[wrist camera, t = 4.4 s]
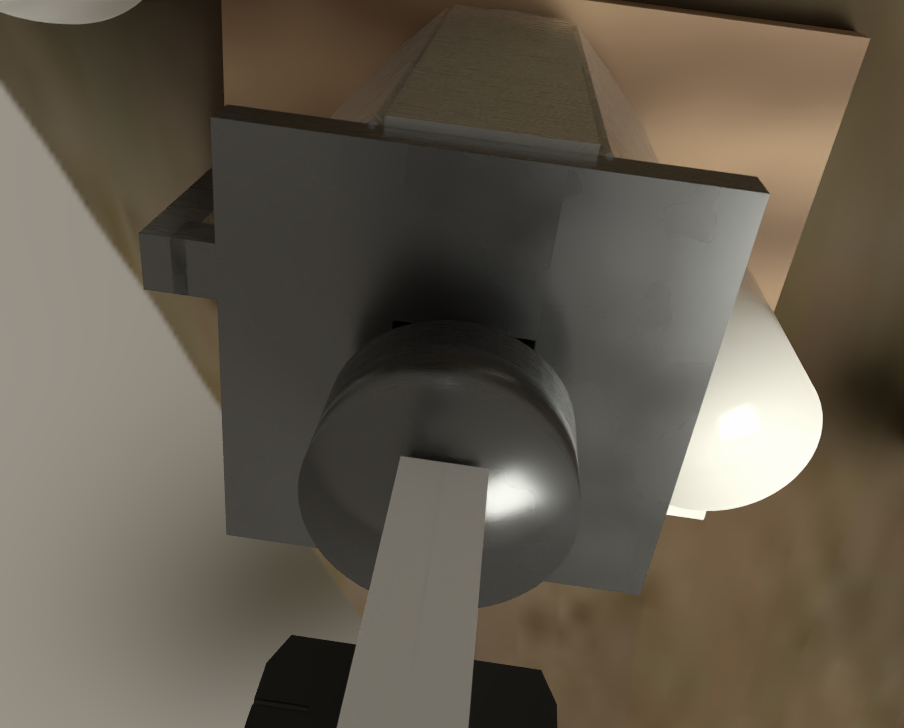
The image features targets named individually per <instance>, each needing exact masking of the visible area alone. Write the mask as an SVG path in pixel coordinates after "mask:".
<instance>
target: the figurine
mask: <svg viewBox="0 0 904 728" xmlns="http://www.w3.org/2000/svg"><path fill="white" fill-rule="evenodd" d="M141 1H142V0H0V12H2V13H5V14H8V15H11V16H15V17H18V18H23V19H27V20H32V21H38V22H46V23H57V24H88V23H95V22H100V21H104V20H108V19H111V18H114V17H116V16H119V15H121V14H123V13H125V12H126V11H128V10H130V9H131V8H133V7H134V6H136V5H137V4H138V3H140V2H141Z"/></svg>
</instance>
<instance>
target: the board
mask: <svg viewBox="0 0 904 728" xmlns="http://www.w3.org/2000/svg"><path fill="white" fill-rule="evenodd" d="M454 5H461V6H468V7H476V8H493V7H496V8H512V9H518V10H523V11H527V12H532V13H535V14H538V15H540V16H543V17H551V18H558V19H565V20H571V24H572V27H573V26H574V25H576V24H577V25H578V27H579V28H580V30H581V31H582V33H583V34H584V36H585V37H586V39H587V40H588V42H589V43H590V45H591V46H592V48H593V49H594V51H595V52H596V53H597V55H598V56H599V57H600V58H601V60H602V61H603V62H604V64H605V65H606V66H607V68H608V69H609V71H610V73H611V75H612V76H613V78H614V80H615V82H616V83H617V85H618V86H619V88H620V89H621V91H622V92H623V94H624V95H625V97H626V98H627V100H628V101H629V103H630V104H631V106H632V107H633V109H634V110H635V112H636V113H637V115H638V116H639V118H640V120H641V122H642V124H643V127H644V129H645V131H646V134H647V136H648V138H649V141H650V143H651V145H652V148H653V150H654V152H655V155H656V157H657V159H658V162H659V163H660V164H668V165H675V166H682V167H690V168H697V169H704V170H712V171H719V172H726V173H734V174H741V175H748V176H755V177H758V178H759V180H760V181H761V182H762V184H763V185H764V186H765V188H766V189H767V191H768V192H769V193H770V195H769V198H768V201H767V204H766V208H765V211H764V214H763V217H762V220H761V223H760V226H759V229H758V232H757V235H756V238H755V241H754V245H753V248H752V251H751V254H750V257H749V260H748V263H747V267H748V268H749V269H750V271H751V272H752V274H753V276H754V278H755V279H756V281H757V283H758V285H759V287H760V289H761V291H762V292H763V294H764V296H765V298H766V300H767V302H768V303H769V305H770V307H771V309H772V311H773V313H774V310H775V307H776V304H777V301H778V298H779V296H780V293H781V290H782V287H783V284H784V282H785V279H786V276H787V273H788V270H789V267H790V265H791V262H792V259H793V256H794V253H795V250H796V248H797V245H798V242H799V239H800V236H801V233H802V231H803V228H804V225H805V222H806V219H807V216H808V214H809V211H810V208H811V205H812V202H813V199H814V197H815V194H816V191H817V188H818V185H819V182H820V180H821V177H822V174H823V171H824V168H825V165H826V163H827V160H828V157H829V154H830V151H831V149H832V146H833V143H834V140H835V137H836V134H837V132H838V129H839V126H840V123H841V120H842V117H843V115H844V112H845V109H846V106H847V103H848V100H849V98H850V95H851V92H852V89H853V86H854V83H855V81H856V78H857V75H858V72H859V69H860V66H861V64H862V61H863V58H864V55H865V52H866V49H867V47H868V44H869V41H870V38H869V37H867V36H865V35H863V34H860V33H858V32H855V31H848V30H840V29H833V28H825V27H818V26H810V25H803V24H795V23H788V22H780V21H773V20H765V19H758V18H750V17H743V16H735V15H728V14H720V13H713V12H705V11H698V10H690V9H683V8H675V7H668V6H660V5H653V4H645V3H638V2H630V1H623V0H221V8H222V41H223V74H224V106H226V105H227V104H229V105H236V106H244V107H251V108H258V109H266V110H273V111H280V112H288V113H295V114H302V115H310V116H317V117H324V118H330V117H331V116H332V115H333V114H334V113H335V111H336V110H337V109H338V108H339V107H340V106H341V104H342V103H343V102H344V101H345V100H346V99H347V97H348V96H349V95H350V94H351V93H352V92H353V90H354V89H355V88H356V87H357V86H358V84H359V83H360V82H361V81H362V80H363V79H364V78H365V77H366V76H368V75H369V74H370V73H371V72H372V71H373V70H375V69H376V68H377V67H378V66H379V65H380V64H382V63H383V62H384V61H385V60H386V59H387V58H389V57H390V56H391V55H392V54H393V53H394V52H396V51H397V50H398V49H399V48H400V47H401V46H402V45H403V44H404V43H405V42H406V41H407V40H408V39H409V38H411V37H412V36H413V35H415V34H416V33H417V32H419V31H420V30H421V29H423V28H424V27H425V26H426V25H427V24H428V23H430V22H431V21H432V20H433V19H434V18H435V17H437V16H438V15H439V14H440V13H441V12H442V11H444V10H445V9H446V8H447V7H449V9H450V10H452V8H453V7H454Z"/></svg>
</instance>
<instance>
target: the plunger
mask: <svg viewBox="0 0 904 728" xmlns="http://www.w3.org/2000/svg"><path fill="white" fill-rule="evenodd" d="M401 456H404V457H411V458H418V459H424V460H431V461H438V462H445V463H452V464H459V465H466V466H473V467H480V468H487V469H489V476H488V488H487V501H486V513H485V526H484V538H483V551H482V563H481V576H480V588H479V601H478V608H481V607H486V606H491V605H495V604H498V603H502V602H505V601H508V600H510V599H513V598H515V597H517V596H520V595H522V594H524V593H526V592H527V591H529V590H531V589H533V588H534V587H536V586H537V585H539V584H540V583H541V582H543V581H544V580H545V579H547V578H548V577H549V576H550V575H551V574H552V573H553V572H554V571H555V570H556V569H557V568H558V567H559V566H560V565H561V563H562V562H563V561H564V559H565V558H566V557H567V555H568V553H569V552H570V550H571V548H572V546H573V544H574V542H575V539H576V536H577V533H578V530H579V525H580V519H581V494H580V480H579V466H578V452H577V438H576V424H575V417H574V411H573V406H572V403H571V400H570V397H569V395H568V392H567V390H566V389H565V387H564V385H563V383H562V381H561V379H560V378H559V377H558V375H557V374H556V372H555V371H554V370H553V368H552V367H551V366H550V365H549V364H548V363H547V362H546V361H545V360H544V359H543V358H542V357H541V356H540V355H539V354H537V353H536V352H535V351H534V350H533V349H531V348H530V347H529V346H527V345H526V344H524V343H522V342H521V341H519V340H518V339H516V338H514V337H512V336H510V335H508V334H506V333H503V332H501V331H499V330H496V329H493V328H490V327H487V326H484V325H480V324H475V323H470V322H465V321H453V320H434V321H424V322H418V323H412V324H409V325H405V326H401V327H398V328H395V329H393V330H390V331H388V332H386V333H383V334H381V335H380V336H378V337H376V338H375V339H373V340H371V341H370V342H368V343H367V344H365V345H364V346H363V347H362V348H360V349H359V350H358V351H357V352H356V353H355V354H354V355H353V356H352V357H351V358H350V359H349V360H348V361H347V362H346V364H345V365H344V367H343V368H342V370H341V371H340V373H339V374H338V376H337V378H336V380H335V382H334V385H333V387H332V389H331V392H330V394H329V397H328V399H327V402H326V404H325V407H324V409H323V412H322V414H321V417H320V419H319V422H318V424H317V427H316V429H315V432H314V434H313V437H312V439H311V442H310V444H309V447H308V449H307V452H306V454H305V457H304V460H303V463H302V466H301V470H300V473H299V481H298V502H299V507H300V512H301V516H302V519H303V522H304V524H305V527H306V529H307V531H308V533H309V535H310V537H311V538H312V540H313V542H314V544H315V545H316V546H317V548H318V549H319V550H320V552H321V553H322V554H323V556H324V557H325V558H326V559H327V560H328V561H329V562H330V563H331V564H332V565H333V566H334V567H335V568H336V569H338V570H339V571H340V572H341V573H342V574H344V575H345V576H346V577H347V578H349V579H350V580H352V581H353V582H355V583H357V584H358V585H360V586H361V587H363V588H365V589H367V590H369V588H370V584H371V580H372V576H373V571H374V567H375V563H376V559H377V554H378V550H379V546H380V542H381V537H382V533H383V529H384V525H385V520H386V516H387V512H388V508H389V503H390V499H391V495H392V491H393V486H394V482H395V478H396V474H397V469H398V465H399V461H400V457H401Z"/></svg>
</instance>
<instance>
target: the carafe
mask: <svg viewBox="0 0 904 728" xmlns="http://www.w3.org/2000/svg"><path fill="white" fill-rule="evenodd" d="M210 125H211V151H212V168H211V169H209V170H208V171H207V172H206V173H205V174H204V175H203V176H202V177H201V178H199V179H198V180H197V181H196V182H195V183H194V184H193V185H192V186H191V187H189V188H188V189H187V190H186V191H185V192H184V193H183V194H182V195H181V196H179V197H178V198H177V199H176V200H175V201H174V202H173V203H172V204H171V205H169V206H168V207H167V208H166V209H165V210H164V211H163V212H162V213H161V214H159V215H158V216H157V217H156V218H155V219H154V220H153V221H152V222H151V223H149V224H148V225H147V226H146V227H145V228H144V229H143V230H142V231H141V232H139V241H140V252H141V263H142V274H143V285H144V289H145V290H152V291H159V292H166V293H173V294H181V295H188V296H195V297H202V298H209V299H216V300H217V303H218V329H219V354H220V379H221V405H222V429H223V455H224V478H225V479H224V480H225V506H226V532H227V535H232V536H239V537H246V538H252V539H259V540H266V541H273V542H280V543H287V544H294V545H300V546H307V547H314V548H317V546H316V545H315V544H314V542H313V540H312V538H311V537H310V535H309V533H308V531H307V529H306V527H305V524H304V522H303V519H302V516H301V512H300V507H299V502H298V481H299V473H300V470H301V466H302V463H303V460H304V457H305V454H306V452H307V449H308V447H309V444H310V442H311V439H312V437H313V434H314V432H315V429H316V427H317V424H318V422H319V419H320V417H321V414H322V412H323V409H324V407H325V404H326V402H327V399H328V397H329V394H330V392H331V389H332V387H333V385H334V382H335V380H336V378H337V376H338V374H339V373H340V371H341V370H342V368H343V367H344V365H345V364H346V362H347V361H348V360H349V359H350V358H351V357H352V356H353V355H354V354H355V353H356V352H357V351H358V350H359V349H360V348H362V347H363V346H364V345H365V344H367V343H368V342H370V341H371V340H373V339H375V338H376V337H378V336H380V335H381V334H383V333H386V332H388V331H390V330H393V329H395V328H398V327H401V326H405V325H409V324H412V323H418V322H424V321H434V320H453V321H465V322H470V323H475V324H480V325H484V326H487V327H490V328H493V329H496V330H499V331H501V332H503V333H506V334H508V335H510V336H512V337H514V338H516V339H518V340H519V341H521V342H522V343H524V344H526V345H527V346H529V347H530V348H531V349H533V350H534V351H535V352H536V353H537V354H539V355H540V356H541V357H542V358H543V359H544V360H545V361H546V362H547V363H548V364H549V365H550V366H551V367H552V368H553V370H554V371H555V372H556V374H557V375H558V377H559V378H560V379H561V381H562V383H563V385H564V387H565V389H566V390H567V392H568V395H569V397H570V400H571V403H572V406H573V411H574V417H575V424H576V438H577V452H578V466H579V480H580V494H581V519H580V525H579V530H578V533H577V536H576V539H575V542H574V544H573V546H572V548H571V550H570V552H569V553H568V555H567V557H566V558H565V559H564V561H563V562H562V563H561V565H560V566H559V567H558V568H557V569H556V570H555V571H554V572H553V573H552V574H551V575H550V576H549V577H548V578H547V579H545V580H544V581H546V582H553V583H560V584H567V585H574V586H581V587H587V588H594V589H601V590H608V591H615V592H622V593H628V594H635V595H640V594H641V591H642V588H643V584H644V581H645V578H646V575H647V572H648V569H649V566H650V563H651V560H652V557H653V554H654V550H655V547H656V544H657V541H658V538H659V535H660V532H661V529H662V526H663V523H664V520H665V516H666V513H667V510H668V507H669V504H670V501H671V498H672V495H673V492H674V489H675V486H676V482H677V479H678V476H679V473H680V470H681V467H682V464H683V461H684V458H685V455H686V452H687V448H688V445H689V442H690V439H691V436H692V433H693V430H694V427H695V424H696V421H697V418H698V415H699V411H700V408H701V405H702V402H703V399H704V396H705V393H706V390H707V387H708V384H709V381H710V377H711V374H712V371H713V368H714V365H715V362H716V359H717V356H718V353H719V350H720V347H721V343H722V340H723V337H724V334H725V331H726V328H727V325H728V322H729V319H730V316H731V313H732V309H733V306H734V303H735V300H736V297H737V294H738V291H739V288H740V285H741V282H742V279H743V275H744V272H745V269H746V266H747V263H748V260H749V257H750V254H751V251H752V248H753V245H754V241H755V238H756V235H757V232H758V229H759V226H760V223H761V220H762V217H763V214H764V211H765V208H766V204H767V201H768V198H769V195H770V193H769V192H768V191H767V189H766V188H765V186H764V185H763V184H762V182H761V181H760V180H759V178H758V177H755V176H748V175H741V174H734V173H726V172H719V171H712V170H704V169H697V168H690V167H682V166H675V165H668V164H660V163H659V162H658V159H657V157H656V155H655V152H654V150H653V148H652V145H651V143H650V141H649V138H648V136H647V134H646V131H645V129H644V127H643V124H642V122H641V120H640V118H639V116H638V115H637V113H636V112H635V110H634V109H633V107H632V106H631V104H630V103H629V101H628V100H627V98H626V97H625V95H624V94H623V92H622V91H621V89H620V88H619V86H618V85H617V83H616V82H615V80H614V78H613V76H612V75H611V73H610V71H609V69H608V68H607V66H606V65H605V64H604V62H603V61H602V60H601V58H600V57H599V56H598V55H597V53H596V52H595V51H594V49H593V48H592V46H591V45H590V43H589V42H588V40H587V39H586V37H585V36H584V34H583V33H582V31H581V30H580V28H579V27H578V25H577V24H576V25H574V26H573V27H572V24H571V20H565V19H558V18H551V17H543V16H540V15H538V14H535V13H532V12H527V11H523V10H518V9H512V8H496V7H493V8H476V7H468V6H461V5H454V7H453V8H452V10H450V9H449V7H447V8H446V9H445V10H444V11H442V12H441V13H440V14H439V15H438V16H437V17H435V18H434V19H433V20H432V21H431V22H430V23H428V24H427V25H426V26H425V27H424V28H423V29H421V30H420V31H419V32H417V33H416V34H415V35H413V36H412V37H411V38H409V39H408V40H407V41H406V42H405V43H404V44H403V45H402V46H401V47H400V48H399V49H398V50H397V51H396V52H394V53H393V54H392V55H391V56H390V57H389V58H387V59H386V60H385V61H384V62H383V63H382V64H380V65H379V66H378V67H377V68H376V69H375V70H373V71H372V72H371V73H370V74H369V75H368V76H366V77H365V78H364V79H363V80H362V81H361V82H360V83H359V84H358V86H357V87H356V88H355V89H354V90H353V92H352V93H351V94H350V95H349V96H348V97H347V99H346V100H345V101H344V102H343V103H342V104H341V106H340V107H339V108H338V109H337V110H336V111H335V113H334V114H333V115H332V116H331V117H330V118H324V117H317V116H310V115H302V114H295V113H288V112H280V111H273V110H266V109H258V108H251V107H244V106H236V105H229V104H227V105H226V106H224V107H223V108H222V109H220V110H219V111H218V112H216V113H215V114H214V115H212V116H211V117H210Z"/></svg>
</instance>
